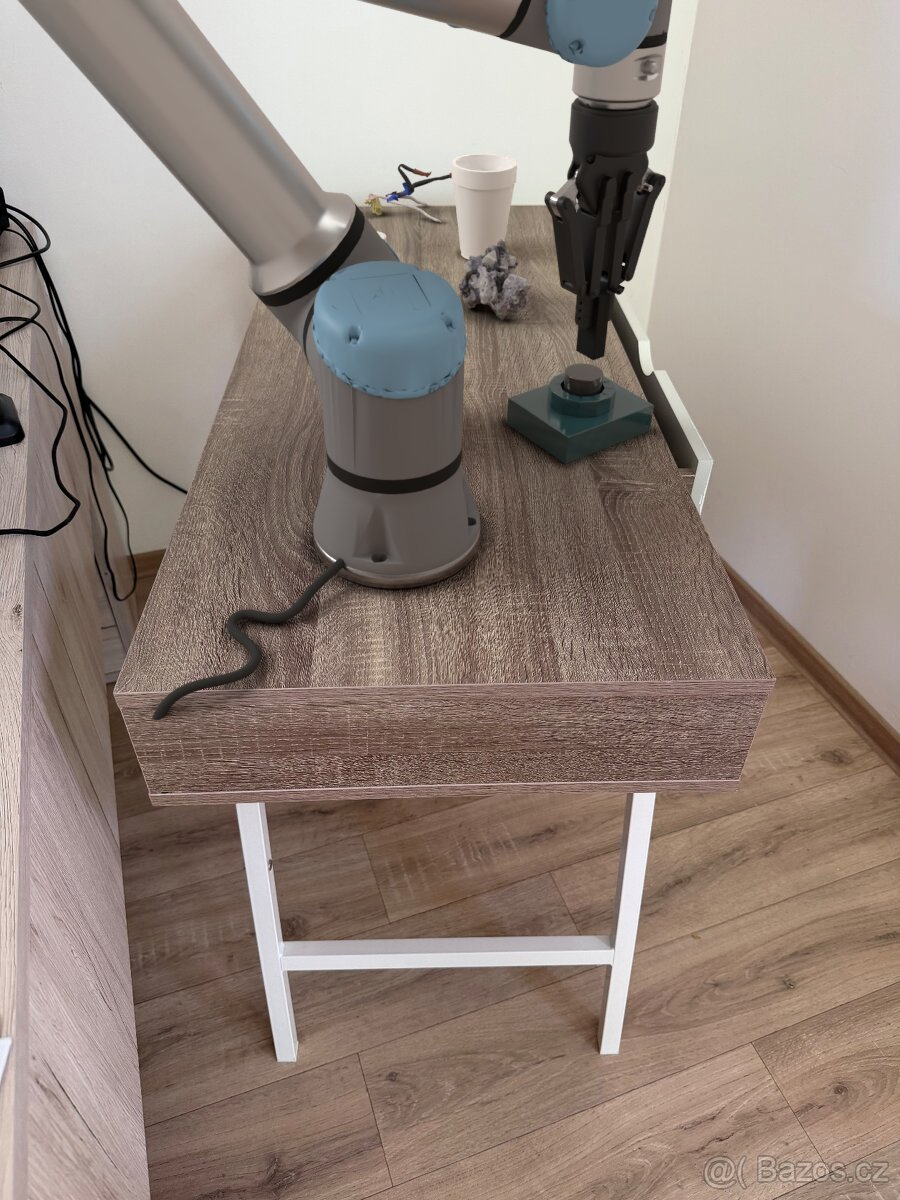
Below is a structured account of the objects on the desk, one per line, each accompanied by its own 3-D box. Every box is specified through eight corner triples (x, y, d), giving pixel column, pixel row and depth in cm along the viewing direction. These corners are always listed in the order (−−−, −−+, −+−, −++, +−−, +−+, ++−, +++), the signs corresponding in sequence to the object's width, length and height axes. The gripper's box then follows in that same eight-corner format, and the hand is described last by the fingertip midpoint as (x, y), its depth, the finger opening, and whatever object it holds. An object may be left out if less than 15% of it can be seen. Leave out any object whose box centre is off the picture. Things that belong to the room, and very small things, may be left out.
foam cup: (440, 248, 141) (441, 157, 133) (494, 239, 144) (497, 150, 136) (467, 269, 135) (469, 175, 126) (523, 259, 138) (528, 167, 129)
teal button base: (565, 464, 94) (569, 421, 91) (506, 423, 101) (508, 382, 97) (649, 431, 100) (657, 389, 96) (589, 394, 106) (593, 354, 103)
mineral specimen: (537, 303, 116) (512, 224, 114) (468, 329, 118) (442, 251, 116) (537, 311, 128) (514, 240, 126) (474, 335, 129) (451, 265, 128)
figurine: (368, 247, 160) (479, 213, 157) (361, 247, 152) (477, 211, 149) (350, 185, 157) (463, 149, 154) (342, 181, 149) (461, 144, 146)
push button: (580, 402, 95) (582, 384, 94) (555, 387, 98) (557, 369, 96) (608, 392, 97) (611, 374, 95) (584, 377, 99) (585, 359, 98)
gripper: (586, 118, 74) (564, 385, 89) (701, 96, 79) (662, 350, 95) (528, 100, 79) (517, 356, 94) (641, 80, 84) (613, 325, 99)
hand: (590, 353), depth 94 cm, fingers closed
